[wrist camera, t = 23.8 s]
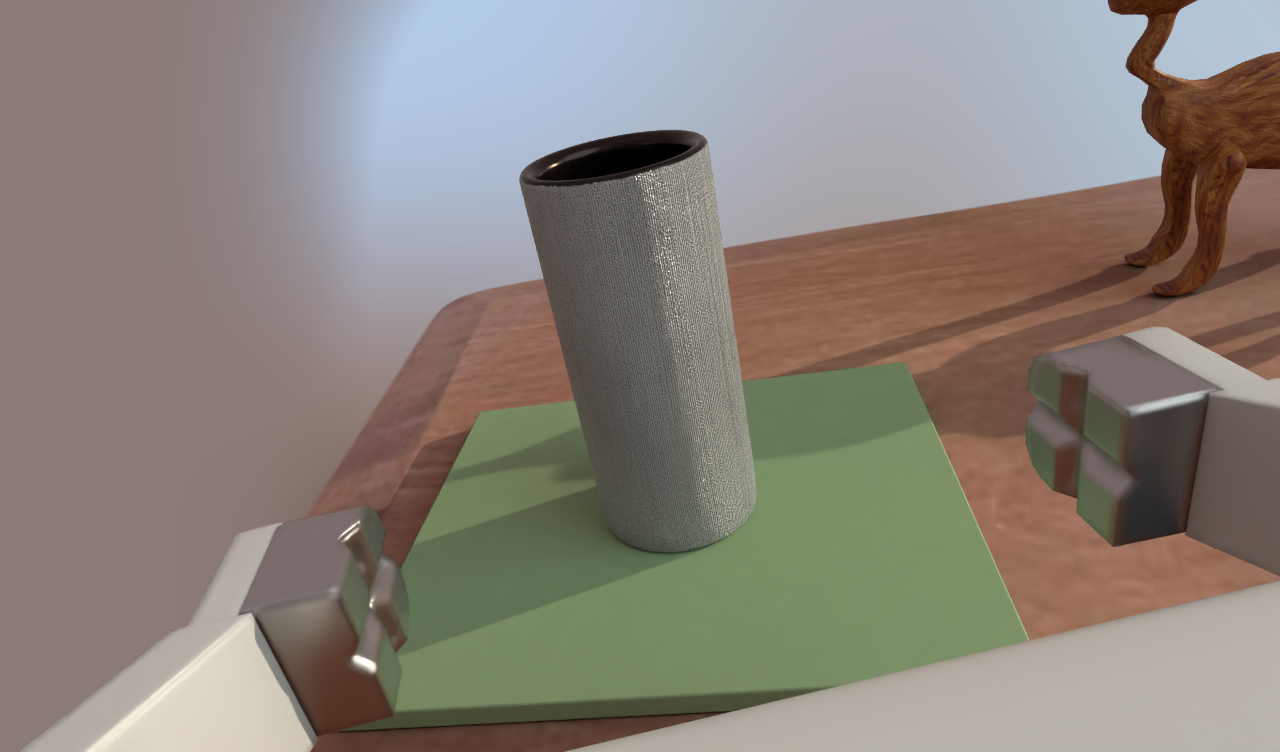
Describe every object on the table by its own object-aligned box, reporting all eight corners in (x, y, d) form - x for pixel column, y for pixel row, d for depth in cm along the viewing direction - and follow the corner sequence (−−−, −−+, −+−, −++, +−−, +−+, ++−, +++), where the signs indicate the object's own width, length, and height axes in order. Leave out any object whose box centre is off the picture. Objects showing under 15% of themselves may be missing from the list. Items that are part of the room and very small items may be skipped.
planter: (764, 545, 21) (709, 159, 17) (597, 563, 22) (499, 195, 17) (752, 451, 25) (705, 119, 21) (611, 469, 26) (535, 149, 21)
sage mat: (333, 732, 19) (324, 715, 19) (483, 424, 32) (479, 411, 31) (1044, 695, 17) (1046, 675, 16) (906, 376, 29) (906, 361, 29)
